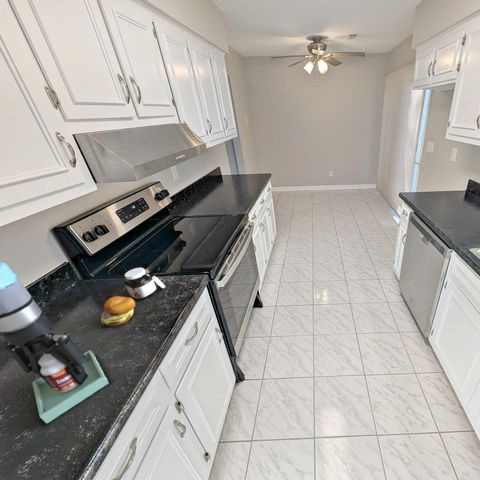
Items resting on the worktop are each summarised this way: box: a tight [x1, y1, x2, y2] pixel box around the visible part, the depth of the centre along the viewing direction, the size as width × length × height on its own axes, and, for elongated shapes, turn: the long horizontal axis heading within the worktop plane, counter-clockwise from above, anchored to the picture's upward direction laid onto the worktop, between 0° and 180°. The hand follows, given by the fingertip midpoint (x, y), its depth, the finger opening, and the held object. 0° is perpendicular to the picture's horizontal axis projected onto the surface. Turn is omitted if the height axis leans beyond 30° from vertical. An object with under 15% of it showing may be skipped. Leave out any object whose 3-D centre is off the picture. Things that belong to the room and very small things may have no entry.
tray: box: [32, 349, 110, 425], centre depth 72 cm, size 15×13×3 cm
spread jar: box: [124, 267, 167, 301], centre depth 108 cm, size 12×11×12 cm
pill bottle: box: [38, 353, 78, 393], centre depth 69 cm, size 6×6×11 cm
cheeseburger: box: [100, 295, 137, 327], centre depth 95 cm, size 10×11×10 cm
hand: (70, 382), depth 72 cm, fingers closed on pill bottle, 6 cm apart
